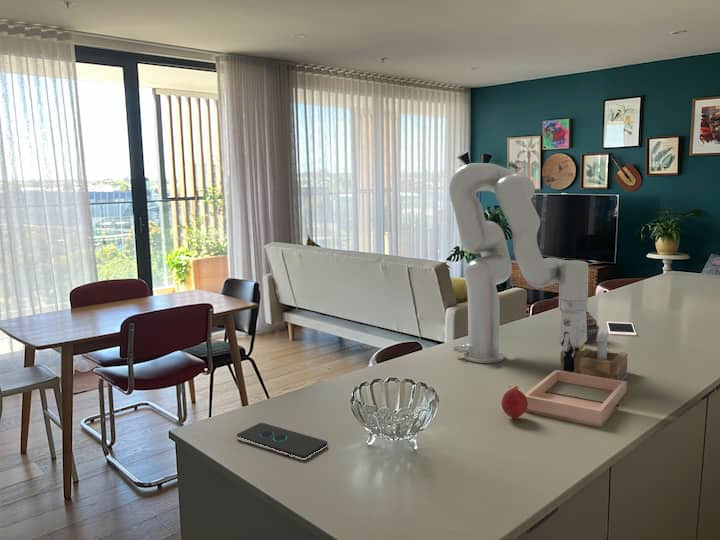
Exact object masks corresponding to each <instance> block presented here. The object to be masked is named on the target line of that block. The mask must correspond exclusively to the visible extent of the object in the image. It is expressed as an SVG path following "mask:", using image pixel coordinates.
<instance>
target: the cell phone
mask: <svg viewBox="0 0 720 540" xmlns="http://www.w3.org/2000/svg"><path fill="white" fill-rule="evenodd" d="M606 326H607V327H608V328H607V332H608V333H609V336H621V335H626V336H627V337H637V336H638V334H637V332H636V328H635V326H634V323H633V322H626V321H625V322H622V321H606Z"/></svg>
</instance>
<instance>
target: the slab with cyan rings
mask: <svg viewBox="0 0 720 540" xmlns="http://www.w3.org/2000/svg"><path fill="white" fill-rule="evenodd" d="M237 436H238V437H241V438H244V439H247V440H250V441H253V442H255V443H258V444H262V445H264V446H268V447H270V448H274V449H276V450H279V451H283V452H286V453H288V454H290V455H291V454H292V455H295V456H298V457H301V458H306V457H308V456H309V455H311V454H313V453H314V452H316V451H318V450H320V449H321V448H323V447H325V446H326V445H327V446H328V441H327V440H323V439H320V438H317V437H313V436H310V435H308V434H307V435H306V434H303V433H299V432H296V431H293V430H289V429H285V428H282V427H278V426H275V425H273V424H268V423H265V422H259V423H257V424H255V425H252V426H251V427H249V428H247V429H245V430H242V431H241V432H238V433H236V437H237Z"/></svg>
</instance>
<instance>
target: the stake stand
mask: <svg viewBox="0 0 720 540" xmlns="http://www.w3.org/2000/svg"><path fill="white" fill-rule="evenodd" d="M609 336H610V335H609V332H608V331H602V332H600V333H598V335H597V337H596V342H597V359H601V360H607V351H608V338H609ZM558 370H559V371H565V372H571V373H574V372H573V371H567V370H561V368H559V369H558ZM630 373H631V371H629V370H627V371H626V372H625V374H624V375H623V376H622V377H621V378H620V379H619V380H620V381H625V379H626V378H627V376H628V375H629V374H630Z"/></svg>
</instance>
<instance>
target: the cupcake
mask: <svg viewBox="0 0 720 540" xmlns="http://www.w3.org/2000/svg"><path fill="white" fill-rule="evenodd" d="M586 318H587V341H586V342H585V343H584V344H594V343H596V342H597V341H596V337H597V336H598V335H599V329H600V326H599V325H598V324H597V323H598V322H597V320H596V319H595V318H594V316H593V315H592V314H590V311H587V312H586ZM593 342H594V343H593Z"/></svg>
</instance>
